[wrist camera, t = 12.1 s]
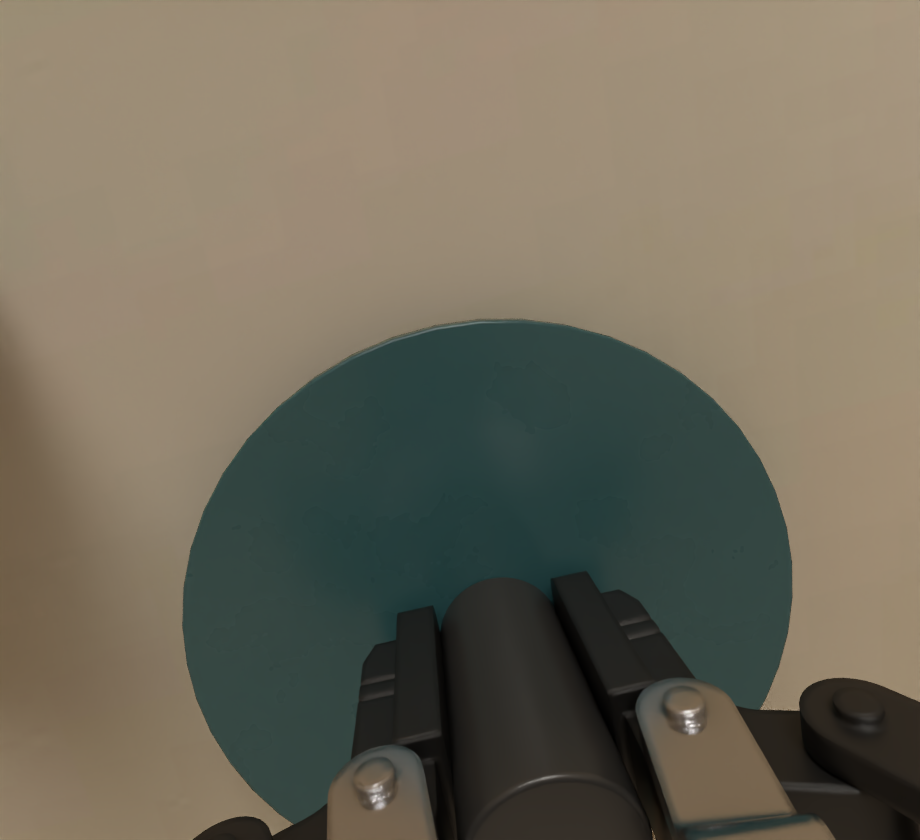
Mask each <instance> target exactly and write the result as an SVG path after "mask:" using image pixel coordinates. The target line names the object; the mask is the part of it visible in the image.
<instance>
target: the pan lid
mask: <svg viewBox="0 0 920 840" xmlns="http://www.w3.org/2000/svg"><path fill="white" fill-rule="evenodd" d="M582 571H587V572H588V573H589V575H590V577H591V578H592V580H593V582H594V583H595V585H596V586H597V588H598V590H599V591H600V593H604V592H609V591H613V590H617V589H620V590H621V591H623V592H625V593H627V594H629V595H630V596H632V597H634V598H636V599H638V600H639V601H640V602H641V604H642V605H643V607H644V608H645V609H646V611H647V612H648V613H649V615H650V617H651V619H653V620H654V622H655V623H656V624H657V626H658V627H659V629H660V631H661V633H663V634H664V635H665V637H666V638H667V640H668V641H669V642H670V644H671V645H672V646H673V648H674V649H675V651H676V652H677V653H678V655H679V656H680V657H681V659H682V660H683V662H684V663H685V664H686V666H687V667H688V668H689V670H690V671H691V673H692V674H693V675H694V677H695V678H696V679H698V680H702V681H705V682H708V683H710V684H712V685H714V686H716V687H718V688H720V689H721V690H722V691H724V692H725V693H726V694H727V695H728V696H729V697H730V698H731V700H732V701H733V702H734V704H735V706H739V707H743V708H748V709H755V710H760V708H761V706H762V705H763V703H764V701H765V699H766V697H767V694H768V692H769V690H770V687H771V685H772V682H773V680H774V677H775V675H776V672H777V670H778V667H779V664H780V660H781V657H782V653H783V649H784V645H785V642H786V638H787V634H788V628H789V620H790V612H791V604H792V560H791V553H790V547H789V540H788V534H787V527H786V524H785V521H784V517H783V514H782V511H781V508H780V504H779V501H778V498H777V494H776V492H775V489H774V487H773V485H772V483H771V481H770V479H769V477H768V475H767V473H766V471H765V468H764V466H763V464H762V462H761V460H760V458H759V457H758V455H757V454H756V452H755V451H754V449H753V448H752V446H751V445H750V443H749V442H748V440H747V439H746V437H745V436H744V434H743V433H742V431H741V430H740V428H739V427H738V426H737V425H736V424H735V422H734V421H733V420H732V419H731V418H730V417H729V416H728V415H727V414H726V413H725V411H724V410H723V409H722V408H721V407H720V406H719V405H718V404H717V403H716V402H715V400H714V399H713V398H711V397H710V396H709V395H708V394H707V393H705V392H704V391H703V390H702V389H700V388H699V387H698V386H697V385H696V384H694V383H693V382H692V381H691V380H689V379H688V378H687V377H686V376H685V375H683V374H682V373H680V372H679V371H677V370H675V369H674V368H672V367H670V366H669V365H667V364H665V363H664V362H662V361H660V360H659V359H657V358H655V357H654V356H652V355H650V354H649V353H647V352H645V351H642V350H640V349H638V348H635V347H633V346H630V345H628V344H626V343H623V342H621V341H619V340H616V339H614V338H612V337H609V336H606V335H602V334H598V333H594V332H591V331H587V330H583V329H579V328H576V327H572V326H568V325H564V324H558V323H550V322H542V321H534V320H526V319H476V320H469V321H462V322H455V323H448V324H441V325H434V326H431V327H427V328H423V329H420V330H416V331H413V332H409V333H406V334H402V335H399V336H395V337H392V338H389V339H387V340H385V341H383V342H380V343H378V344H376V345H373V346H371V347H369V348H366V349H364V350H362V351H359V352H357V353H355V354H352V355H351V356H349V357H347V358H346V359H344V360H342V361H341V362H339V363H337V364H336V365H334V366H332V367H331V368H329V369H327V370H326V371H324V372H322V373H321V374H319V375H317V376H316V377H314V378H313V379H312V380H311V381H309V382H308V383H307V384H306V385H304V386H303V387H302V388H301V389H299V390H298V391H297V392H296V393H294V394H293V395H292V396H291V397H289V398H288V399H287V400H286V401H284V402H283V403H282V404H281V405H280V406H278V407H277V408H276V409H275V411H274V412H273V413H272V414H271V415H270V416H269V417H268V418H267V419H266V420H265V421H264V422H263V423H262V424H261V425H260V426H259V427H258V428H257V429H256V431H255V432H254V433H253V434H252V435H251V436H250V437H249V438H248V439H247V440H246V442H245V443H244V445H243V446H242V447H241V449H240V450H239V452H238V453H237V454H236V456H235V457H234V459H233V460H232V461H231V463H230V464H229V466H228V467H227V468H226V470H225V471H224V473H223V474H222V476H221V478H220V480H219V482H218V484H217V486H216V488H215V490H214V492H213V494H212V496H211V497H210V499H209V501H208V503H207V505H206V507H205V509H204V511H203V514H202V517H201V520H200V523H199V526H198V529H197V532H196V535H195V538H194V541H193V543H192V546H191V550H190V555H189V561H188V566H187V572H186V577H185V582H184V592H183V622H182V626H183V635H184V643H185V652H186V660H187V666H188V670H189V673H190V677H191V681H192V684H193V688H194V692H195V695H196V699H197V701H198V704H199V706H200V708H201V710H202V713H203V715H204V717H205V720H206V722H207V724H208V726H209V729H210V731H211V733H212V735H213V736H214V738H215V739H216V741H217V743H218V744H219V746H220V747H221V749H222V751H223V752H224V754H225V756H226V757H227V759H228V760H229V762H230V763H231V765H232V766H233V767H234V768H235V769H236V771H237V772H238V773H239V774H240V775H241V777H242V778H243V779H244V780H245V781H246V782H247V784H248V785H249V786H250V787H251V788H252V790H253V791H254V792H255V793H257V794H258V795H259V796H260V797H261V798H262V799H263V800H264V801H265V802H266V803H268V804H269V805H270V806H271V807H272V808H273V809H274V810H275V811H276V812H277V813H279V814H280V815H281V816H283V817H284V818H285V819H287V820H288V821H290V822H291V823H293V824H296V823H298V822H300V821H302V820H303V819H305V818H307V817H309V816H310V815H312V814H314V813H315V812H316V811H318V810H319V809H321V808H322V807H323V806H324V805H325V804H326V803H328V792H329V789H330V785H331V783H332V781H333V779H334V777H335V776H336V775H337V773H338V772H339V771H340V769H341V768H342V767H343V766H344V765H345V764H346V763H348V762H349V761H350V760H351V754H352V746H353V738H354V730H355V722H356V714H357V706H358V703H359V699H358V698H359V690H360V686H361V683H360V682H361V674H362V666H363V662H364V661H365V659H366V658H367V656H368V655H369V653H370V652H371V650H372V649H373V647H374V646H375V645H376V644H380V643H385V642H389V641H393V640H396V629H397V614H398V613H400V612H405V611H409V610H414V609H418V608H422V607H427V606H431V605H433V606H434V609H435V612H436V616H437V621H438V625H439V629H440V634H441V646H442V657H443V669H444V680H445V691H446V703H447V714H448V726H449V737H450V749H451V760H452V771H453V793H454V805H455V817H456V828H457V840H653V838H652V829H651V825H650V821H649V818H648V816H647V814H646V811H645V809H644V807H643V805H642V802H641V800H640V798H639V796H638V793H637V791H636V789H635V787H634V784H633V782H632V780H631V778H630V776H629V773H628V771H627V769H626V767H625V764H624V762H623V760H622V758H621V755H620V753H619V751H618V749H617V746H616V744H615V742H614V740H613V738H612V735H611V733H610V731H609V729H608V726H607V724H606V722H605V720H604V717H603V715H602V713H601V711H600V709H599V706H598V704H597V702H596V700H595V697H594V695H593V693H592V691H591V688H590V686H589V684H588V682H587V680H586V677H585V675H584V673H583V671H582V668H581V666H580V664H579V662H578V659H577V657H576V655H575V653H574V650H573V648H572V646H571V644H570V642H569V639H568V637H567V635H566V633H565V630H564V628H563V626H562V624H561V621H560V619H559V617H558V615H557V613H556V610H555V606H554V601H553V595H552V590H551V578H555V577H560V576H564V575H568V574H573V573H577V572H582Z"/></svg>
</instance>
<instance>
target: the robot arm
mask: <svg viewBox="0 0 920 840" xmlns="http://www.w3.org/2000/svg"><path fill="white" fill-rule="evenodd" d="M551 590H552V595H553V601H554V606H555V610H556V613H557V615H558V617H559V619H560V621H561V624H562V626H563V628H564V630H565V633H566V635H567V637H568V639H569V642H570V644H571V646H572V648H573V650H574V653H575V655H576V657H577V659H578V662H579V664H580V666H581V668H582V671H583V673H584V675H585V677H586V680H587V682H588V684H589V686H590V688H591V691H592V693H593V695H594V697H595V700H596V702H597V704H598V706H599V709H600V711H601V713H602V715H603V717H604V720H605V722H606V724H607V726H608V729H609V731H610V733H611V735H612V738H613V740H614V742H615V744H616V746H617V749H618V751H619V753H620V755H621V758H622V760H623V762H624V764H625V767H626V769H627V771H628V773H629V776H630V778H631V780H632V782H633V784H634V787H635V789H636V791H637V793H638V796H639V798H640V800H641V802H642V805H643V807H644V809H645V811H646V814H647V816H648V818H649V821H650V825H651V827H652V830H653V832H654V834H655V838H656V840H920V702H918V701H916V700H913V699H911V698H909V697H906V696H904V695H902V694H899V693H897V692H895V691H892V690H890V689H888V688H885V687H883V686H880V685H877V684H875V683H871V682H867V681H863V680H858V679H850V678H833V679H826V680H822V681H818V682H816V683H814V684H812V685H810V686H809V687H807V688H806V689H805V690H804V691H803V693H802V695H801V697H800V702H799V707H800V711H784V710H755V709H748V708H743V707H739V706H735V704H734V702H733V701H732V700H731V698H730V697H729V696H728V695H727V694H726V693H725V692H724V691H722V690H721V689H720V688H718V687H716V686H714V685H712V684H710V683H708V682H705V681H702V680H698V679H696V678H695V677H694V675H693V674H692V673H691V671H690V670H689V668H688V667H687V666H686V664H685V663H684V662H683V660H682V659H681V657H680V656H679V655H678V653H677V652H676V651H675V649H674V648H673V646H672V645H671V644H670V642H669V641H668V640H667V638H666V637H665V635H664V634H663V633H661V631H660V629H659V627H658V626H657V624H656V623H655V622H654V620H653V619H651V617H650V615H649V613H648V612H647V611H646V609H645V608H644V607H643V605H642V604H641V602H640V601H639V600H638V599H636V598H634V597H632V596H630V595H629V594H627V593H625V592H623V591H621V590H620V589H617V590H613V591H609V592H604V593H600V591H599V590H598V588H597V586H596V585H595V583H594V582H593V580H592V578H591V577H590V575H589V573H588V572H587V571H582V572H577V573H573V574H568V575H564V576H560V577H555V578H551ZM360 683H361V686H360V690H359V698H358V699H359V703H358V706H357V714H356V722H355V730H354V738H353V746H352V754H351V760H350V761H349V762H348V763H346V764H345V765H344V766H343V767H342V768H341V769H340V771H339V772H338V773H337V775H336V776H335V777H334V779H333V781H332V783H331V785H330V789H329V792H328V803H326V804H325V805H324V806H323V807H322V808H321V809H319V810H318V811H316V812H315V813H314V814H312V815H310V816H309V817H307V818H305V819H303V820H302V821H300V822H298V823H296V824H294V825H292V826H290V827H288V828H286V829H284V830H282V831H281V832H279V833H277V834H275V835H273V836H272V835H271V832H270V830H269V828H268V826H267V825H266V824H265V823H264V822H263V821H261V820H260V819H257V818H254V817H248V816H244V817H236V818H231V819H228V820H225V821H222V822H220V823H218V824H216V825H214V826H212V827H210V828H208V829H207V830H205V831H203V832H202V833H201V834H199V835H198V836H197V837H195V838H194V839H193V840H457V828H456V817H455V805H454V793H453V771H452V760H451V749H450V737H449V726H448V714H447V703H446V691H445V680H444V669H443V657H442V646H441V634H440V629H439V625H438V621H437V616H436V612H435V609H434V606H433V605H431V606H427V607H422V608H418V609H414V610H409V611H405V612H400V613H398V614H397V629H396V640H393V641H389V642H385V643H380V644H376V645H375V646H374V647H373V649H372V650H371V652H370V653H369V655H368V656H367V658H366V659H365V661H364V662H363V666H362V674H361V682H360Z"/></svg>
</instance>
